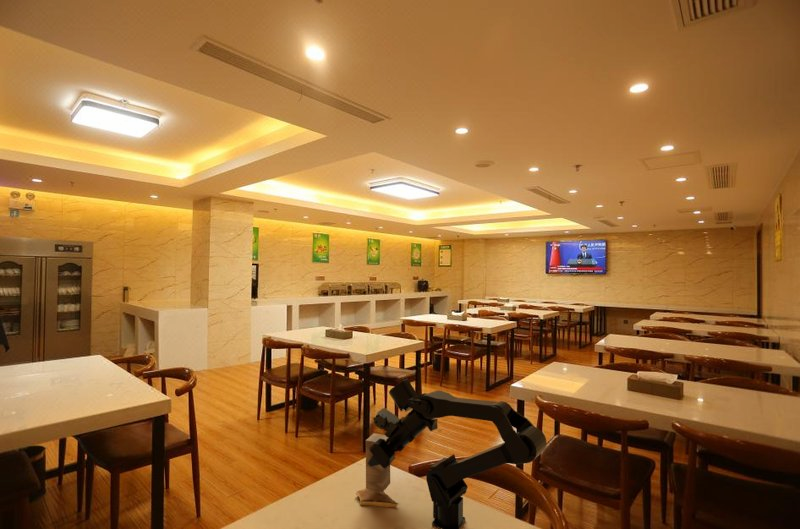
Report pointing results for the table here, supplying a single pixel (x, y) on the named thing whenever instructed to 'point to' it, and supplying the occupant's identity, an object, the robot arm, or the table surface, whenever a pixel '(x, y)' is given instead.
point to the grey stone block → (376, 468)
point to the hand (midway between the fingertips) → (373, 460)
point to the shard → (375, 498)
